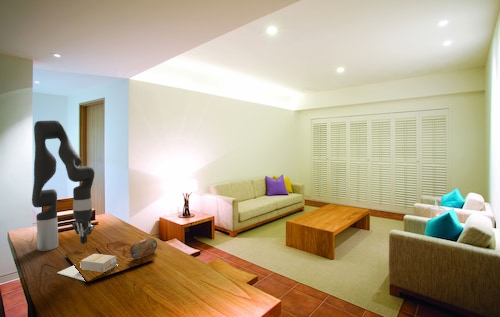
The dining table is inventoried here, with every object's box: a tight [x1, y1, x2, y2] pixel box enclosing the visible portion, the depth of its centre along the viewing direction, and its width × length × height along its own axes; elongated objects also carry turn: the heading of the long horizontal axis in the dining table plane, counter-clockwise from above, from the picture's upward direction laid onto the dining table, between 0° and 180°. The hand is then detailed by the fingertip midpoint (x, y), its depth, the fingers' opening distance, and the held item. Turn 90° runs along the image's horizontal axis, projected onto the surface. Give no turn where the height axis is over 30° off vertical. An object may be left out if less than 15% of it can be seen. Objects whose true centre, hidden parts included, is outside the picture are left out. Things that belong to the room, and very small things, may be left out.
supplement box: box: [79, 253, 117, 272], centre depth 122 cm, size 8×5×13 cm
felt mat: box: [56, 264, 119, 282], centre depth 122 cm, size 20×16×1 cm
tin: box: [129, 237, 158, 260], centre depth 136 cm, size 15×3×8 cm, turn 147°
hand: (83, 243), depth 124 cm, fingers closed
